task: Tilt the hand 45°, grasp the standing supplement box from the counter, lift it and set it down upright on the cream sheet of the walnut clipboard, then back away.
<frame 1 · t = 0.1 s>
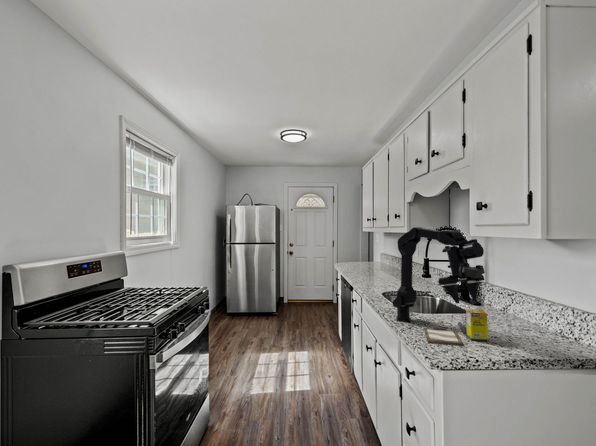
hand: (466, 302, 124), 15 cm above the counter, tool pointing down, fingers open, 9 cm apart
supplement box: (476, 339, 128), on the counter
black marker: (462, 330, 140), on the counter
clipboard: (441, 337, 130), on the counter
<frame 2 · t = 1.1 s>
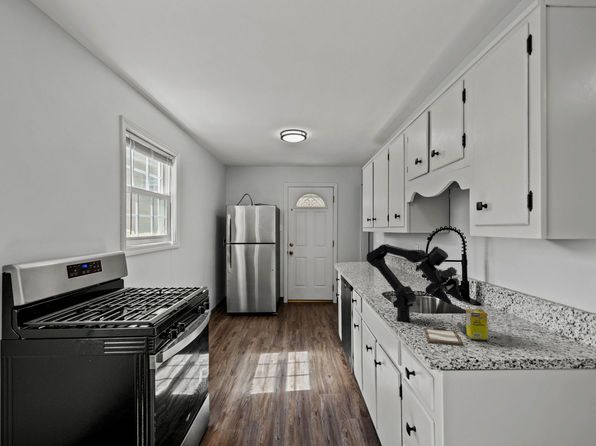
hand: (456, 302, 135), 13 cm above the counter, tool tilted 45°, fingers open, 9 cm apart
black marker: (462, 330, 140), on the counter, tilted 16°
everything else where it was.
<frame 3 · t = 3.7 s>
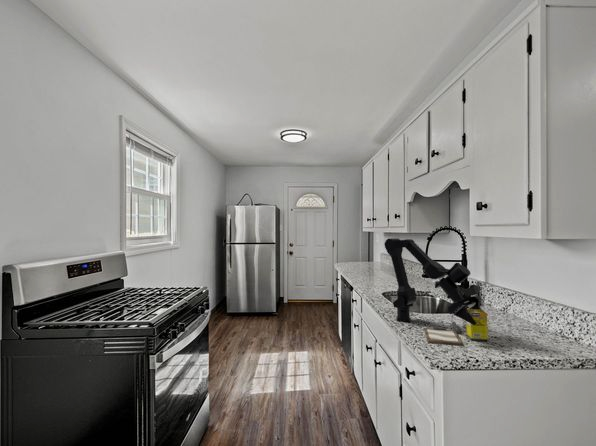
hand: (480, 322, 127), 7 cm above the counter, tool tilted 45°, fingers closed on supplement box, 8 cm apart
supplement box: (476, 339, 128), on the counter, touching gripper
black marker: (455, 325, 140), point 1 cm above the counter, tilted 168°
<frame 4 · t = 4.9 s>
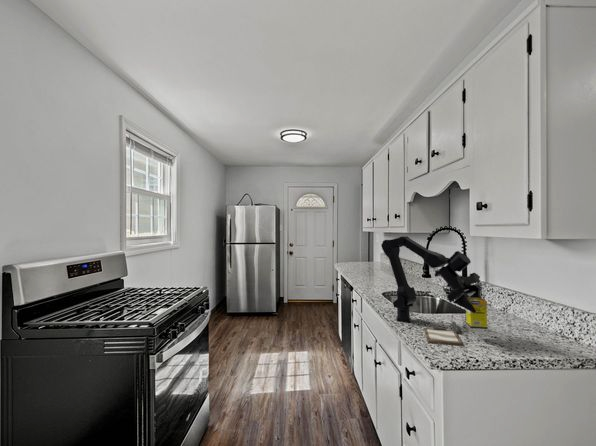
hand: (480, 310, 127), 11 cm above the counter, tool tilted 45°, fingers closed on supplement box, 8 cm apart
supplement box: (476, 327, 128), point 4 cm above the counter, touching gripper
everything else where it was.
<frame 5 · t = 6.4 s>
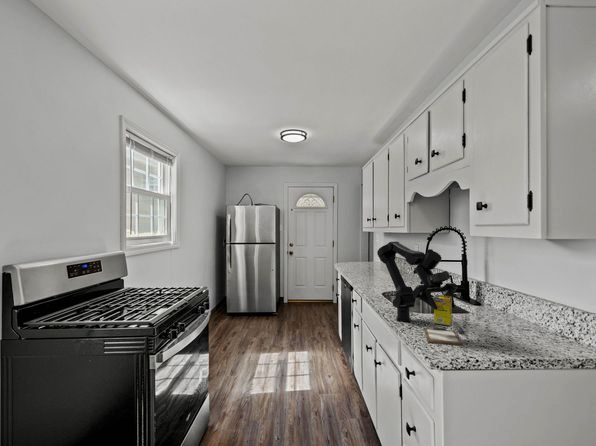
hand: (445, 308, 128), 12 cm above the counter, tool tilted 45°, fingers closed on supplement box, 8 cm apart
supplement box: (443, 324, 130), point 5 cm above the counter, touching gripper
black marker: (460, 326, 140), point 1 cm above the counter, tilted 131°
when the fingers open (9 cm above the counter, at t = 7.7 s): supplement box drops 1 cm, resting on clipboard.
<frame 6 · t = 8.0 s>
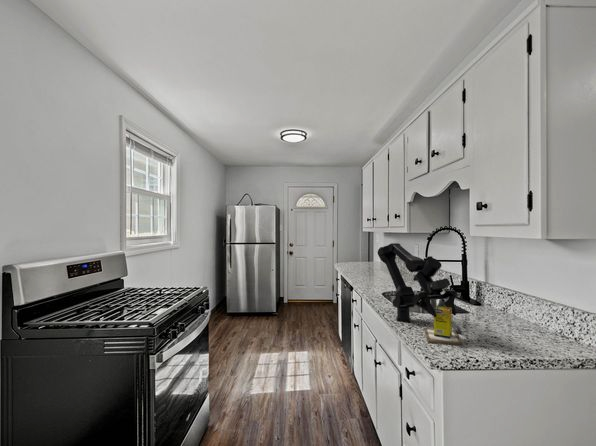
hand: (445, 315, 128), 9 cm above the counter, tool tilted 45°, fingers open, 9 cm apart
supplement box: (443, 335, 130), point 1 cm above the counter, touching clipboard
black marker: (454, 325, 141), point 1 cm above the counter, tilted 152°
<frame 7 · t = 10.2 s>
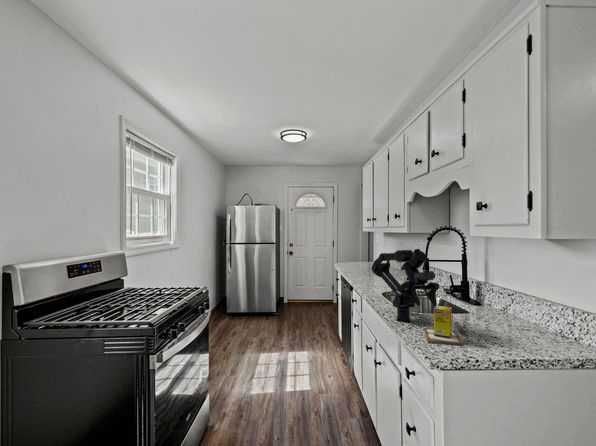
hand: (427, 305, 138), 11 cm above the counter, tool tilted 40°, fingers open, 9 cm apart
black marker: (461, 327, 140), point 1 cm above the counter, tilted 98°
everything else where it was.
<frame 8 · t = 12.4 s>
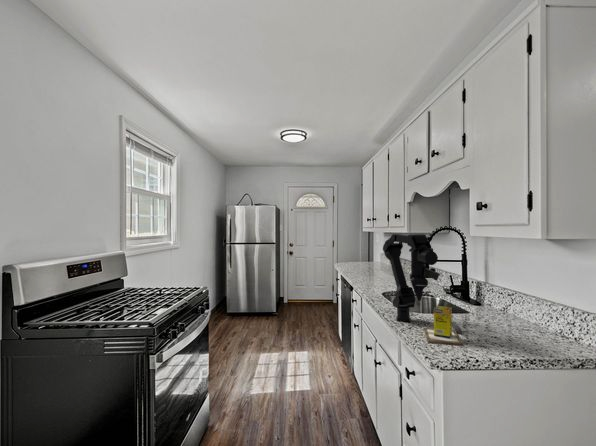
hand: (418, 298, 142), 13 cm above the counter, tool pointing down, fingers open, 9 cm apart
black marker: (456, 325, 140), point 1 cm above the counter, tilted 170°
everything else where it was.
at the end: supplement box inside the target area on the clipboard (0.5 cm from its centre), point 0.7 cm above the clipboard's base; supplement box tilted 0°; the gripper is holding nothing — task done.
